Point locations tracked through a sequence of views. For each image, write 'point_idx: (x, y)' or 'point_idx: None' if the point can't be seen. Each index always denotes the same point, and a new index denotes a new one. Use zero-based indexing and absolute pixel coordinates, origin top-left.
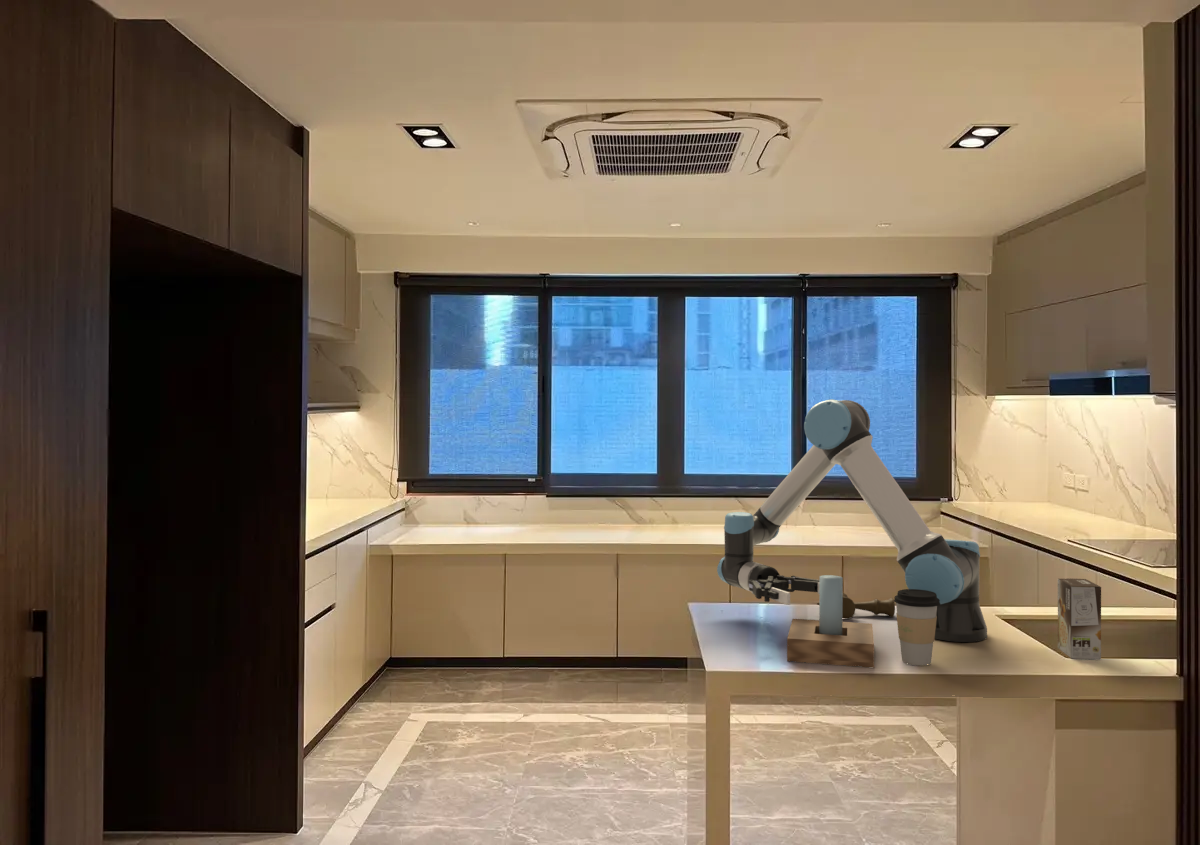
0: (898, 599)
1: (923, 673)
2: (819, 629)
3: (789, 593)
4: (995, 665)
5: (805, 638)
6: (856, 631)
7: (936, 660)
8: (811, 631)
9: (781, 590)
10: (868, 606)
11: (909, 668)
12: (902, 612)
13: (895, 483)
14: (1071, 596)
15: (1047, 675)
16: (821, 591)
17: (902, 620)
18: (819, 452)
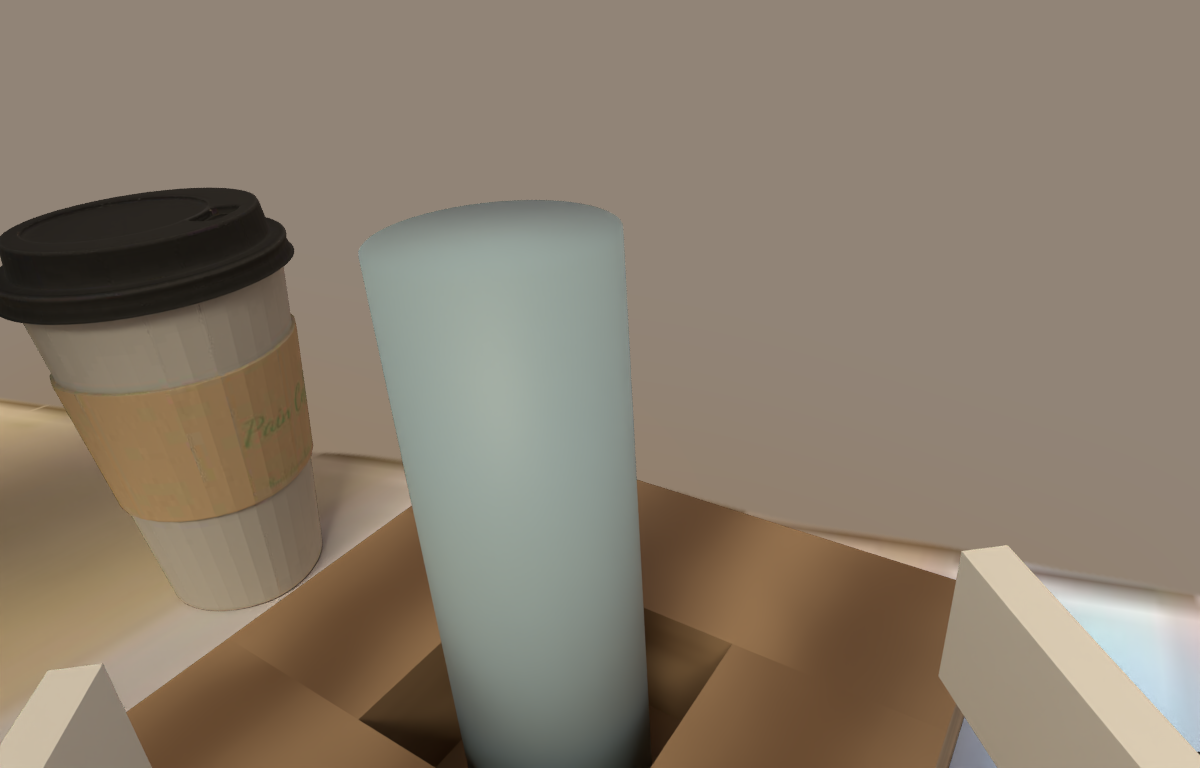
0: (271, 243)
1: (381, 466)
2: (641, 704)
3: (972, 558)
4: (30, 483)
5: (848, 564)
6: (382, 624)
7: (144, 563)
8: (728, 697)
9: (1107, 691)
10: None
11: (373, 510)
12: (284, 309)
13: None
14: None
15: (39, 405)
16: (630, 366)
17: (295, 352)
18: None
